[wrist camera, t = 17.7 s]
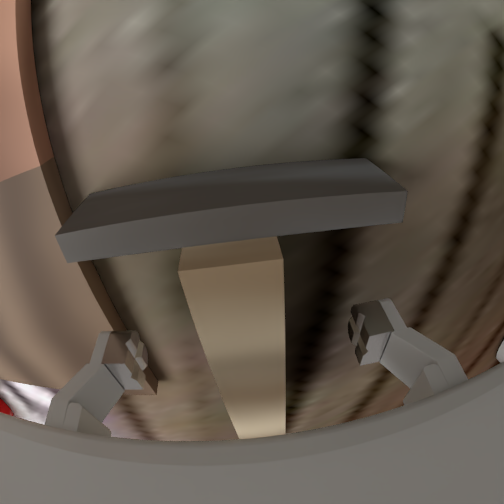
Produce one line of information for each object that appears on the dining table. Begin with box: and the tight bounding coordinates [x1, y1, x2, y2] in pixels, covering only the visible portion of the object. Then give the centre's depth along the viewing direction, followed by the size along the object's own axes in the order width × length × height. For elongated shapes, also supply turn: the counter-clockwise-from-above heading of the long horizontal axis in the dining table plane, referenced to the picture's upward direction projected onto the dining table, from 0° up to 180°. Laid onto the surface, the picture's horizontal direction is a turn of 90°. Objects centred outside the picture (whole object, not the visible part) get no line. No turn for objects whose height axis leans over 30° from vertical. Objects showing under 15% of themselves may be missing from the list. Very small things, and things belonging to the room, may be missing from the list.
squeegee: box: [55, 158, 408, 439], centre depth 12 cm, size 14×10×4 cm
